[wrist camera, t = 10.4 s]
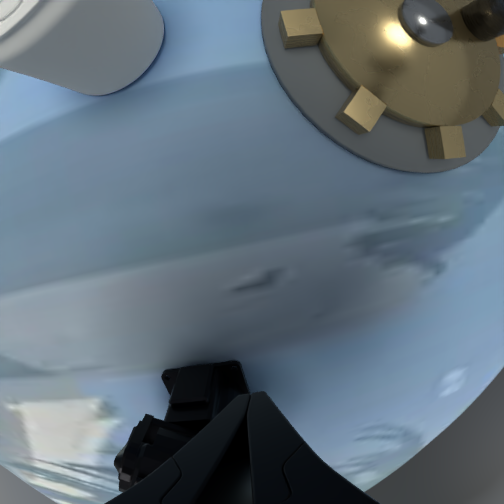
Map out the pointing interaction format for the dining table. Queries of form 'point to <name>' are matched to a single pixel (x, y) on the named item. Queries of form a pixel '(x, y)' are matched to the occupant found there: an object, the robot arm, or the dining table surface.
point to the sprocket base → (336, 93)
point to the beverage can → (80, 41)
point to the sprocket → (409, 62)
